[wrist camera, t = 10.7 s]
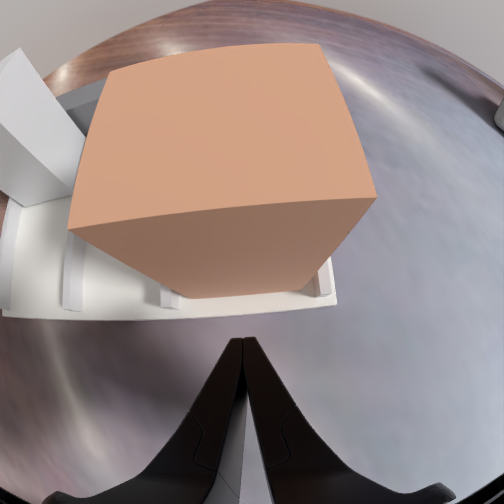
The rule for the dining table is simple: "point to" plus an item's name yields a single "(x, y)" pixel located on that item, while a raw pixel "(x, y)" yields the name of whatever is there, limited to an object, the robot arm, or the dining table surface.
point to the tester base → (108, 266)
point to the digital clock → (500, 116)
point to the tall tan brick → (222, 170)
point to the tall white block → (34, 137)
